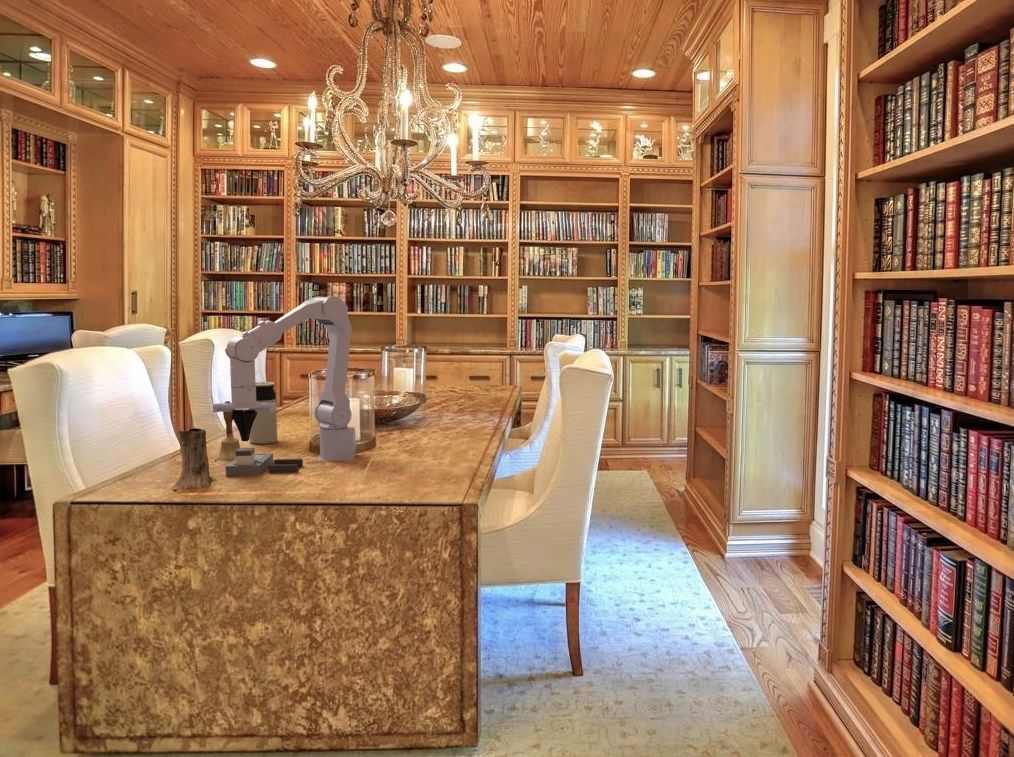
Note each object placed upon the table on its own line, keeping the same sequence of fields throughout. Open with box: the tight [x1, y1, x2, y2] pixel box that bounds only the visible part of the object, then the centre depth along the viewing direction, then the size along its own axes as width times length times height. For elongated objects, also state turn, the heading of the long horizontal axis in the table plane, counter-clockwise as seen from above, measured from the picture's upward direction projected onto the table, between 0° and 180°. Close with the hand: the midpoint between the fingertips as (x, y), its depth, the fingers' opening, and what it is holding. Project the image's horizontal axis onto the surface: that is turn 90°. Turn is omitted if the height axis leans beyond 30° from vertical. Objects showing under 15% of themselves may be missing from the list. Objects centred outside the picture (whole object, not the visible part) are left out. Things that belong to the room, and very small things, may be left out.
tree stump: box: [171, 427, 218, 491], centre depth 168 cm, size 10×10×13 cm
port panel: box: [225, 452, 274, 477], centre depth 183 cm, size 8×14×3 cm, turn 5°
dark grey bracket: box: [267, 458, 304, 474], centre depth 183 cm, size 7×7×2 cm
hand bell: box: [214, 400, 241, 462], centre depth 195 cm, size 8×8×16 cm
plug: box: [236, 447, 256, 465], centre depth 179 cm, size 4×4×6 cm
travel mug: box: [249, 381, 278, 445], centre depth 218 cm, size 8×8×18 cm
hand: (245, 440), depth 179 cm, fingers closed
